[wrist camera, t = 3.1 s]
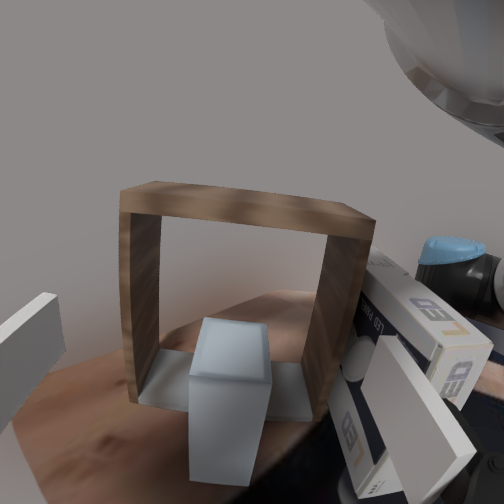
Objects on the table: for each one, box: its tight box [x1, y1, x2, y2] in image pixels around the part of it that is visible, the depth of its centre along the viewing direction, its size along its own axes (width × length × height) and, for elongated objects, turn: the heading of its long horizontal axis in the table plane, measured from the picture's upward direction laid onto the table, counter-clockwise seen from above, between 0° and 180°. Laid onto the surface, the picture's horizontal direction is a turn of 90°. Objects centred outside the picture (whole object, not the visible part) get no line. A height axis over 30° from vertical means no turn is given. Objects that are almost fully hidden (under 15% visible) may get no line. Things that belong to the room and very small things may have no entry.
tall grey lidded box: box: [189, 317, 273, 486], centre depth 28 cm, size 6×9×15 cm, turn 0°
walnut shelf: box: [119, 181, 376, 422], centre depth 38 cm, size 24×12×26 cm, turn 90°
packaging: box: [327, 245, 494, 499], centre depth 36 cm, size 30×6×20 cm, turn 2°
